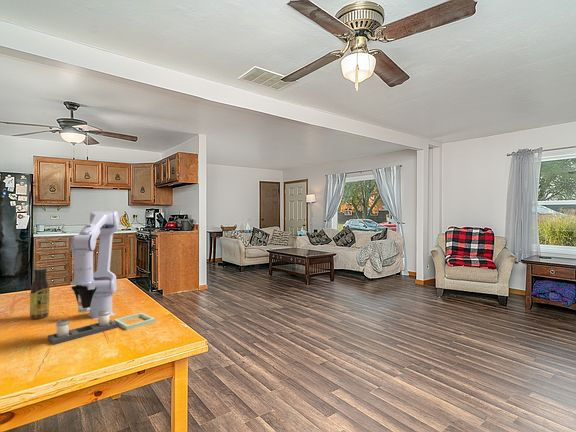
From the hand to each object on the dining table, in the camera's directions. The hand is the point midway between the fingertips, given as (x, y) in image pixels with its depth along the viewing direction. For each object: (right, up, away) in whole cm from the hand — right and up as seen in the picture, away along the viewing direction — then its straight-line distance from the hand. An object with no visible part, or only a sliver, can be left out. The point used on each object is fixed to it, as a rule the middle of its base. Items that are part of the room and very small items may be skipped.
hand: (84, 306), depth 114 cm
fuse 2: (+4, -10, +5) cm, 12 cm away
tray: (+13, -10, +11) cm, 20 cm away
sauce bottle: (-30, -10, +18) cm, 36 cm away
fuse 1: (-4, -10, -5) cm, 12 cm away
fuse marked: (0, -2, 0) cm, 2 cm away
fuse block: (0, -10, 0) cm, 10 cm away
